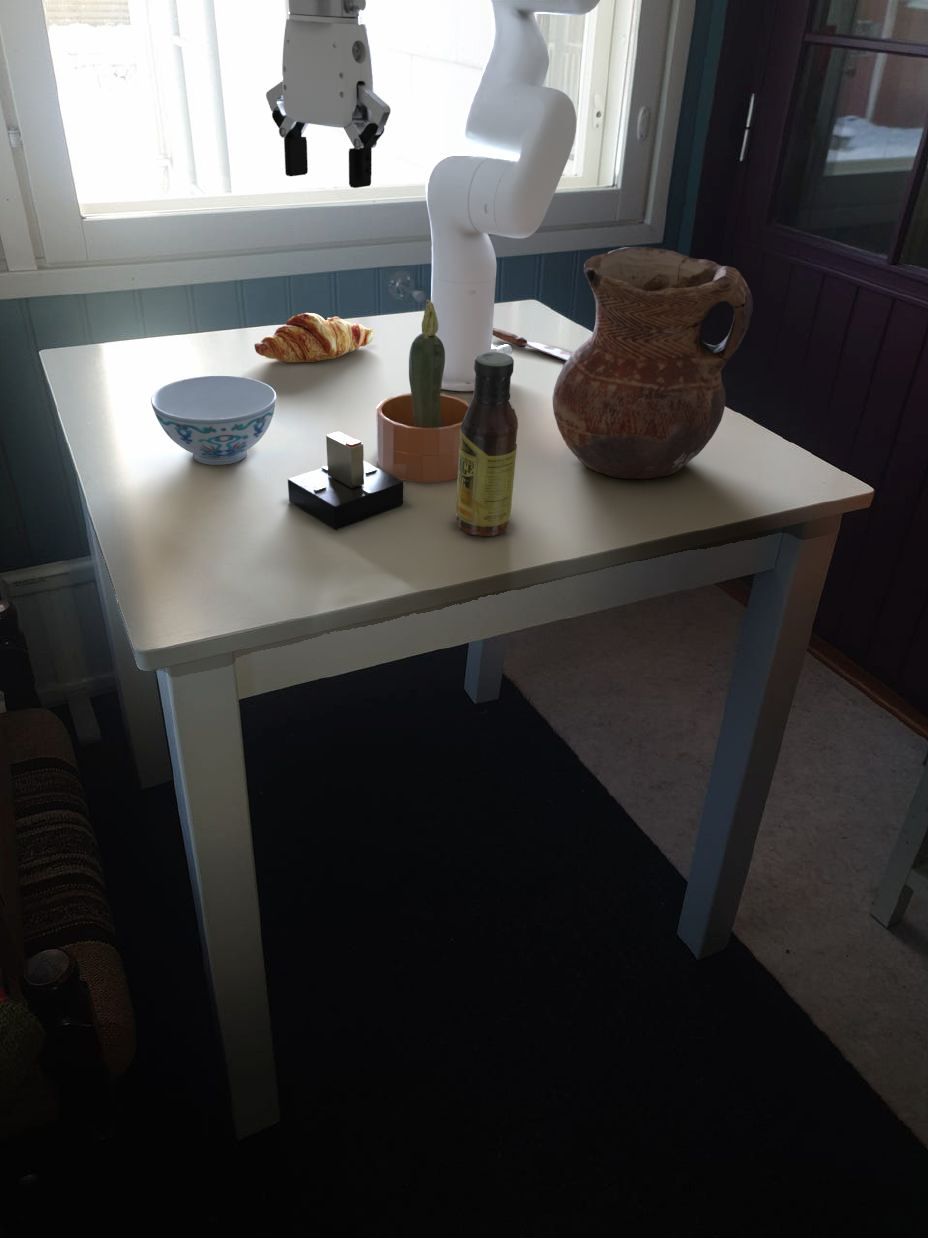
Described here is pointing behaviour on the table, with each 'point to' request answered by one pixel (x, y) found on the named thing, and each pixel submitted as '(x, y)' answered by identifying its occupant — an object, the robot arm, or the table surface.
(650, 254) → the jug
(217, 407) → the chinaware
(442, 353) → the vegetable
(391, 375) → the table surface
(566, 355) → the kitchen knife
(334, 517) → the panel
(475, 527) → the sauce bottle
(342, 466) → the hob knob
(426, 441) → the terracotta pot
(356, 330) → the croissant
